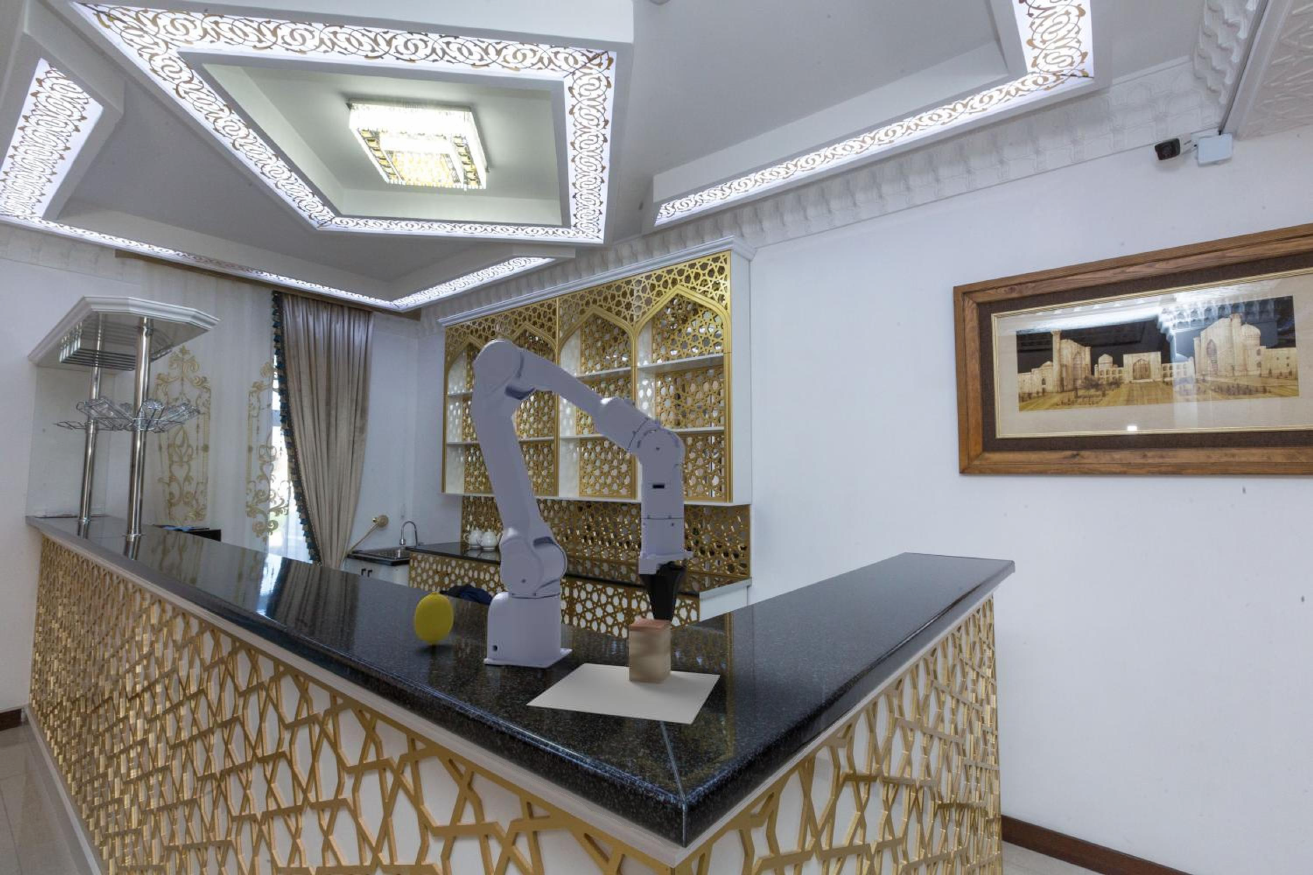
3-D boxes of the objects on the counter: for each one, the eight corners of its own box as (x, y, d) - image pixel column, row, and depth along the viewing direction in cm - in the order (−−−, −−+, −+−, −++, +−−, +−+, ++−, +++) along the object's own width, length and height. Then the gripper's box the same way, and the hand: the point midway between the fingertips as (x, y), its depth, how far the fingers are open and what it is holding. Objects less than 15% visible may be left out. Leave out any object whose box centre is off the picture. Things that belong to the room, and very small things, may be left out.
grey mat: (526, 708, 61) (526, 704, 61) (584, 666, 75) (584, 663, 75) (691, 727, 55) (691, 723, 55) (720, 678, 70) (720, 675, 70)
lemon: (449, 639, 89) (450, 587, 90) (455, 647, 84) (456, 592, 85) (411, 644, 86) (412, 590, 87) (415, 653, 82) (416, 596, 82)
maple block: (629, 680, 68) (628, 625, 68) (640, 670, 72) (639, 618, 72) (661, 684, 67) (660, 627, 67) (670, 673, 70) (670, 620, 71)
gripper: (677, 521, 68) (679, 637, 67) (703, 515, 82) (704, 612, 81) (622, 521, 70) (622, 634, 69) (656, 515, 84) (657, 609, 83)
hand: (663, 622), depth 75 cm, fingers closed
